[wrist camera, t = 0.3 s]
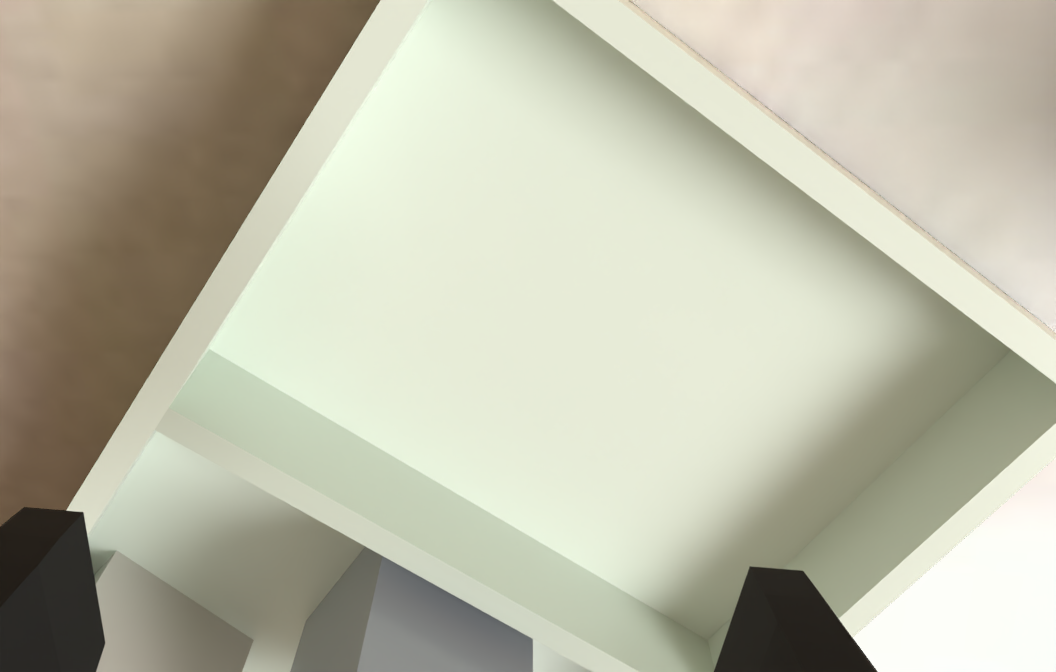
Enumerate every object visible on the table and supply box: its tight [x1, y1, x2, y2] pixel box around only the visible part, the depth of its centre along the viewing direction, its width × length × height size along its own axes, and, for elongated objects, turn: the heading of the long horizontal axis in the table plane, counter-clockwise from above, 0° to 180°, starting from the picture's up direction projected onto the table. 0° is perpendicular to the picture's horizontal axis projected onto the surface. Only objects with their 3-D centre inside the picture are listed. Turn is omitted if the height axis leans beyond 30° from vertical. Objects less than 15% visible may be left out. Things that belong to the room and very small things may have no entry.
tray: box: [66, 0, 1056, 672], centre depth 21 cm, size 22×15×3 cm
